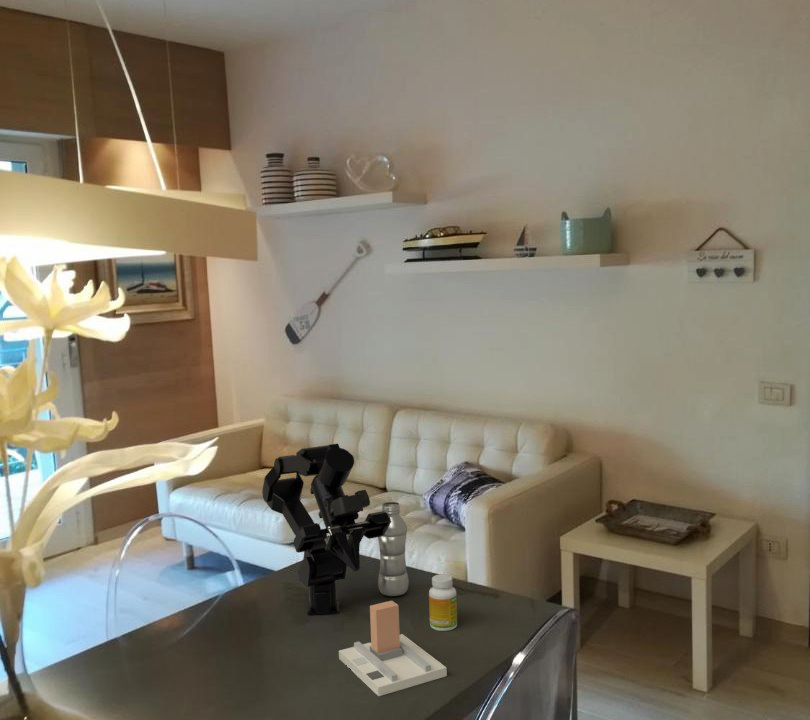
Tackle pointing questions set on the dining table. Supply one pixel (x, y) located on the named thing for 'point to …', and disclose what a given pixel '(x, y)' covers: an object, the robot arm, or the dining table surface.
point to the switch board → (392, 667)
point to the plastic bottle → (393, 554)
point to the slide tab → (385, 630)
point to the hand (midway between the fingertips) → (357, 570)
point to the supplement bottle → (442, 603)
